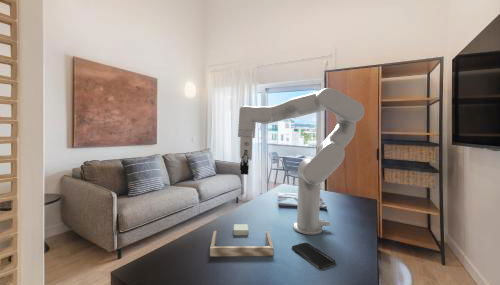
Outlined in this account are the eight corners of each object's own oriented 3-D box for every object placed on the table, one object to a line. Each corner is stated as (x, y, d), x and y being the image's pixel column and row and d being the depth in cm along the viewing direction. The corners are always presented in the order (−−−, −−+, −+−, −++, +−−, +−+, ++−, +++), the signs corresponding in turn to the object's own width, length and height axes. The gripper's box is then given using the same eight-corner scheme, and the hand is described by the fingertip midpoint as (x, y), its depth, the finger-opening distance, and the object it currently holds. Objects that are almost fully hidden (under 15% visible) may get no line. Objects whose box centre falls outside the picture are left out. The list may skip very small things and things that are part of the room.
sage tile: (247, 229, 103) (247, 224, 103) (248, 235, 97) (248, 230, 97) (233, 229, 103) (234, 224, 103) (233, 235, 97) (233, 230, 97)
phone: (306, 242, 91) (337, 261, 78) (306, 244, 91) (337, 265, 78) (290, 246, 87) (319, 267, 74) (290, 249, 87) (319, 271, 74)
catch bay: (268, 237, 95) (268, 230, 95) (273, 255, 82) (273, 247, 82) (213, 237, 94) (213, 230, 94) (210, 256, 81) (210, 247, 80)
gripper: (256, 135, 96) (253, 176, 97) (253, 134, 113) (250, 169, 114) (238, 134, 95) (235, 175, 96) (237, 133, 112) (235, 168, 113)
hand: (243, 172), depth 105 cm, fingers open, 9 cm apart
